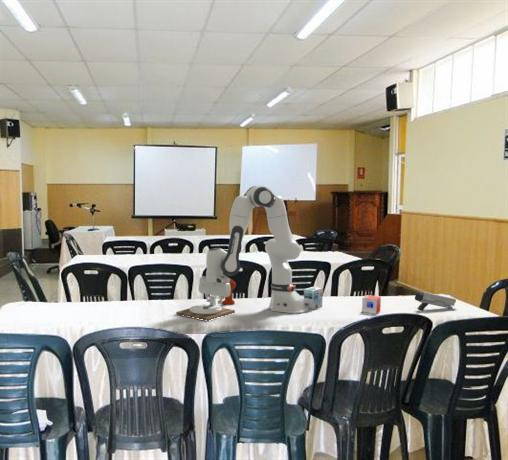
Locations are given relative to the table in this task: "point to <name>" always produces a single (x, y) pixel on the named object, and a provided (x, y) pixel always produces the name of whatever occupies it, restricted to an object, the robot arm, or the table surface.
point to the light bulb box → (313, 297)
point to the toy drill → (229, 299)
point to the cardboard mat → (206, 317)
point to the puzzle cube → (371, 304)
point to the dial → (206, 308)
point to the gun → (433, 300)
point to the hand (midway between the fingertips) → (214, 302)
